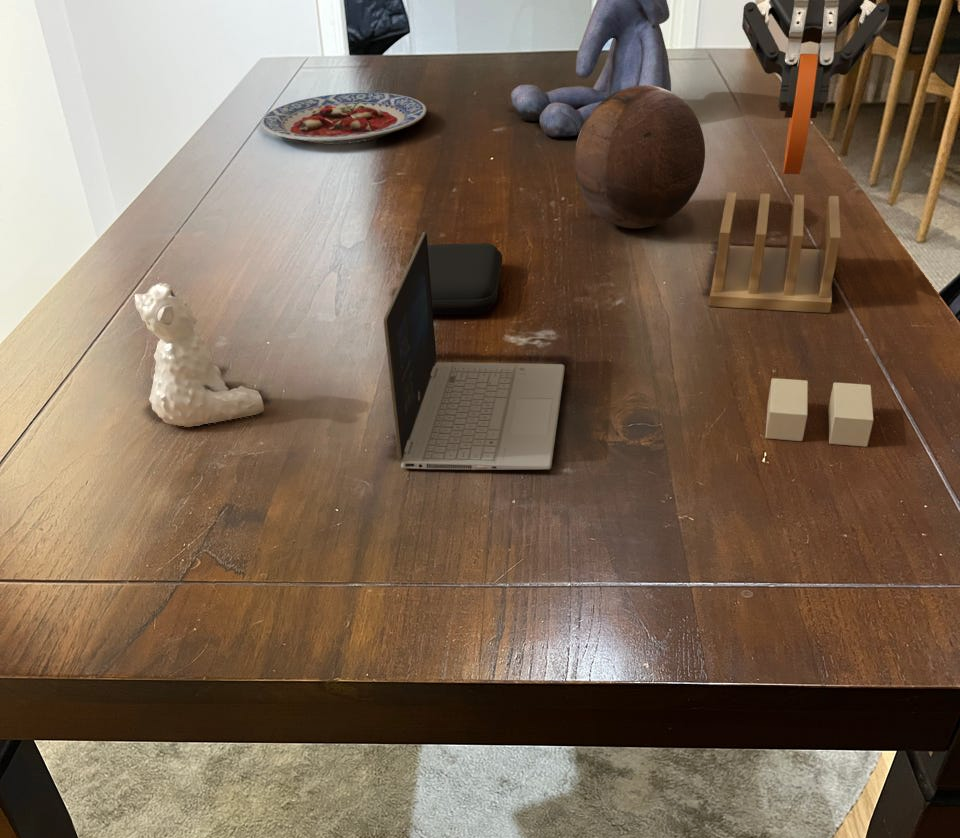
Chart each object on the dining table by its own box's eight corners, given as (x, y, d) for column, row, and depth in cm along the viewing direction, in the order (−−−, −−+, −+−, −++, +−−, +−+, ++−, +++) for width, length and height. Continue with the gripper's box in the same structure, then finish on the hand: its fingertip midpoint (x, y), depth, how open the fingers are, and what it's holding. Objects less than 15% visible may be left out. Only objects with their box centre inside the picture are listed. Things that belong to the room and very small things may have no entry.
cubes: (864, 411, 86) (870, 384, 85) (867, 447, 82) (873, 419, 80) (767, 404, 88) (771, 377, 86) (765, 438, 84) (769, 411, 82)
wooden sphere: (721, 217, 123) (736, 80, 113) (655, 257, 114) (665, 112, 104) (618, 196, 130) (623, 65, 120) (548, 231, 122) (548, 94, 112)
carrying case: (411, 266, 115) (393, 321, 104) (408, 239, 113) (390, 292, 102) (503, 264, 114) (496, 319, 103) (503, 237, 112) (495, 291, 101)
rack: (828, 260, 111) (841, 192, 106) (829, 313, 101) (843, 241, 96) (718, 255, 114) (725, 189, 109) (708, 306, 104) (716, 235, 99)
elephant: (501, 110, 163) (497, -43, 150) (645, 92, 167) (654, -57, 154) (540, 144, 148) (539, -21, 134) (697, 124, 152) (712, -38, 139)
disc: (799, 160, 101) (816, 46, 95) (799, 186, 93) (818, 63, 87) (783, 160, 101) (800, 46, 95) (782, 185, 94) (800, 63, 88)
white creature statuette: (271, 412, 91) (245, 282, 83) (188, 449, 87) (152, 315, 79) (215, 379, 96) (185, 254, 88) (134, 413, 92) (95, 284, 84)
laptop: (550, 475, 81) (551, 320, 72) (398, 471, 83) (380, 318, 74) (564, 371, 94) (566, 230, 86) (433, 369, 96) (421, 230, 87)
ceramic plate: (391, 157, 147) (389, 135, 145) (234, 149, 153) (230, 128, 151) (449, 109, 165) (448, 89, 163) (307, 104, 171) (304, 85, 169)
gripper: (751, -100, 90) (726, 87, 90) (912, -104, 88) (888, 90, 87) (746, -40, 98) (723, 134, 97) (894, -41, 95) (872, 137, 94)
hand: (801, 112), depth 92 cm, fingers closed on disc, 1 cm apart
